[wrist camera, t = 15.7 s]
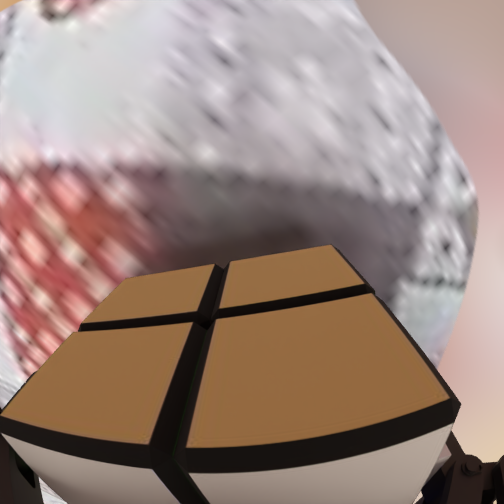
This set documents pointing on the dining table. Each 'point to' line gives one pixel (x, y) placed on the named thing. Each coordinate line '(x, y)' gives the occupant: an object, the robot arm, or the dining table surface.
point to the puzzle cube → (237, 392)
